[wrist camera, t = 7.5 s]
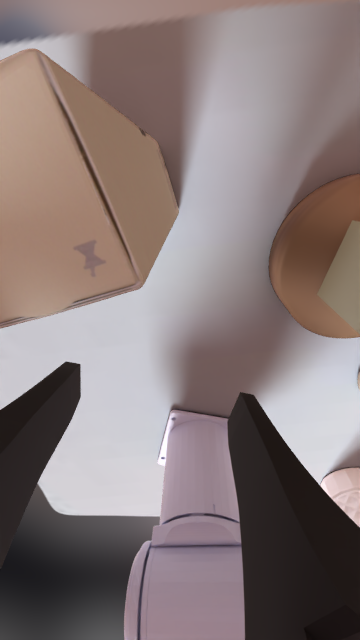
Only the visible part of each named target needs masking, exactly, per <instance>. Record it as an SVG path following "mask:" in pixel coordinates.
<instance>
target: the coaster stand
mask: <svg viewBox="0 0 360 640" xmlns="http://www.w3.org/2000/svg"><path fill="white" fill-rule="evenodd" d="M352 220H354V221H359V222H360V174H354V175H349V176H345V177H342V178H338V179H336V180H334V181H331V182H329V183H327V184H325V185H323V186H321V187H320V188H318V189H316V190H315V191H313V192H312V193H311V194H309V195H308V196H306V197H305V198H304V199H303V200H302V201H301V202H300V203H299V204H298V205H297V206H296V207H295V208H294V209H293V210H292V211H291V212H290V213H289V215H288V216H287V217H286V219H285V220H284V221H283V223H282V225H281V226H280V228H279V230H278V232H277V234H276V236H275V238H274V241H273V244H272V247H271V251H270V256H269V277H270V280H271V284H272V287H273V289H274V291H275V293H276V294H277V296H278V298H279V299H280V300H281V302H282V303H283V304H284V306H285V307H286V309H287V310H288V311H289V313H290V314H291V315H292V317H293V318H294V319H295V320H296V321H297V322H298V323H299V324H300V325H302V326H303V327H304V328H306V329H308V330H309V331H311V332H313V333H316V334H318V335H322V336H326V337H332V338H355V337H360V334H359V333H358V332H357V331H356V330H354V329H353V328H352V327H351V326H350V325H349V324H348V323H347V322H346V321H345V320H344V319H343V318H342V317H340V316H339V315H338V314H337V313H336V312H335V311H334V310H333V309H332V308H331V307H330V306H329V305H328V304H327V303H325V302H324V301H323V300H322V299H321V298H320V297H319V296H318V295H317V293H318V291H319V289H320V287H321V285H322V283H323V281H324V279H325V276H326V274H327V272H328V270H329V268H330V266H331V264H332V262H333V260H334V258H335V256H336V253H337V251H338V249H339V247H340V245H341V243H342V241H343V239H344V237H345V235H346V232H347V230H348V228H349V226H350V224H351V222H352Z"/></svg>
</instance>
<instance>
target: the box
mask: <svg viewBox="0 0 360 640" xmlns="http://www.w3.org/2000/svg"><path fill="white" fill-rule="evenodd" d="M178 214H179V210H178V206H177V203H176V199H175V196H174V192H173V189H172V185H171V182H170V178H169V175H168V172H167V169H166V166H165V162H164V159H163V156H162V153H161V150H160V147H159V145H158V142H157V141H156V140H155V139H154V138H152V137H151V136H150V135H148V134H147V133H146V132H144V131H143V130H142V129H141V128H139V127H138V126H137V125H136V124H134V123H133V122H132V121H130V120H129V119H128V118H126V117H125V116H124V115H123V114H121V113H120V112H119V111H117V110H116V109H115V108H113V107H112V106H111V105H110V104H108V103H107V102H106V101H105V100H103V99H102V98H101V97H100V96H98V95H97V94H96V93H94V92H93V91H92V90H90V89H89V88H88V87H87V86H85V85H84V84H83V83H81V82H80V81H79V80H77V79H76V78H75V77H74V76H72V75H71V74H70V73H68V72H67V71H66V70H64V69H63V68H62V67H61V66H59V65H58V64H57V63H55V62H54V61H52V60H51V59H50V58H49V57H48V56H46V55H45V54H43V53H42V52H41V51H39V50H37V49H26V50H23V51H20V52H18V53H16V54H14V55H11V56H9V57H7V58H5V59H3V60H1V61H0V328H4V327H8V326H12V325H15V324H19V323H23V322H27V321H31V320H35V319H39V318H43V317H46V316H50V315H54V314H57V313H60V312H64V311H67V310H70V309H74V308H77V307H81V306H84V305H88V304H91V303H94V302H98V301H101V300H104V299H108V298H111V297H114V296H117V295H121V294H124V293H127V292H131V291H134V290H138V289H140V288H141V287H142V286H143V285H144V283H145V281H146V279H147V277H148V275H149V273H150V270H151V268H152V267H153V265H154V262H155V260H156V258H157V256H158V254H159V252H160V250H161V248H162V246H163V244H164V242H165V240H166V238H167V236H168V234H169V232H170V230H171V228H172V226H173V224H174V222H175V220H176V218H177V216H178Z"/></svg>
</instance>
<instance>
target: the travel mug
mask: <svg viewBox="0 0 360 640" xmlns="http://www.w3.org/2000/svg"><path fill="white" fill-rule="evenodd" d="M358 388H359V390H360V372H359V375H358Z"/></svg>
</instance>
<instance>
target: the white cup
mask: <svg viewBox="0 0 360 640" xmlns="http://www.w3.org/2000/svg"><path fill="white" fill-rule="evenodd" d="M320 486H321V487H322V489H323V490H324V491H325V492H326V493H327V494H328V495H329V496H330V497H331V499H332V500H333V501H334V502H335V503H336V504H337V505H338V506H339V507H340V508H341V509H342V510H343V511H344V512H345V513H346V514H347V515H348V516H349V517H350V518H351V519H352V520H353V521H354V522H355V523H356V524H357V525H358V526H359V527H360V468H345V469H341V470H338V471H335V472H332V473H331V474H329V475H328V476H326V477H325V478H324V479H323V480H322V482H321V485H320Z"/></svg>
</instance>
